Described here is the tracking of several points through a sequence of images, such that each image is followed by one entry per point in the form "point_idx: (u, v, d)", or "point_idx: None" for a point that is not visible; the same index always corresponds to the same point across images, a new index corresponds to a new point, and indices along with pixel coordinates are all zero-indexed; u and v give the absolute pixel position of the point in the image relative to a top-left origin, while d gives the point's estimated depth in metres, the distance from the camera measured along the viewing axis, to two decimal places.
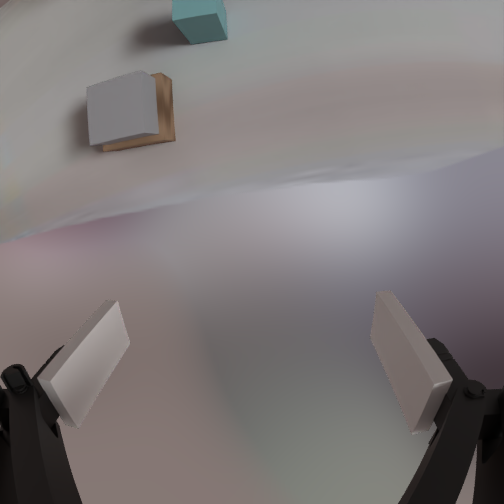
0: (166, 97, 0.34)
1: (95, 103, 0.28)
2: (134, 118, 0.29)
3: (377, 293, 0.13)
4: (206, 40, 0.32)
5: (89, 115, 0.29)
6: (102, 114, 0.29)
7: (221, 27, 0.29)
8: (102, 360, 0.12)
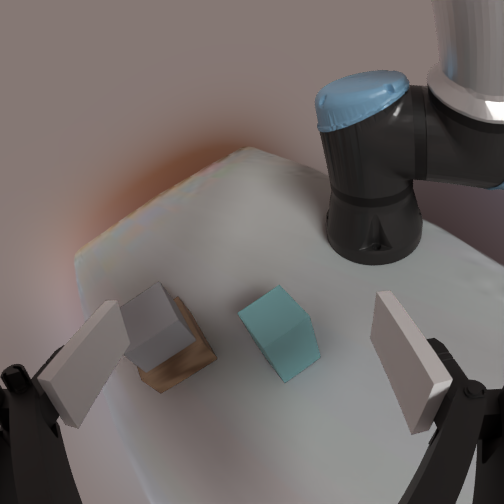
0: (187, 362, 0.34)
1: (145, 297, 0.35)
2: (134, 339, 0.31)
3: (376, 293, 0.13)
4: None
5: (135, 298, 0.35)
6: (136, 309, 0.34)
7: (274, 366, 0.28)
8: (102, 360, 0.12)
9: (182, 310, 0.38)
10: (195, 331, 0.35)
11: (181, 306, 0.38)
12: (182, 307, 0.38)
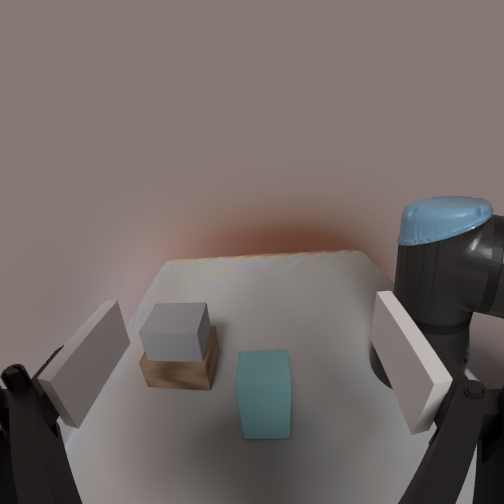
0: (183, 375, 0.36)
1: (187, 307, 0.40)
2: (155, 327, 0.35)
3: (377, 293, 0.13)
4: None
5: (180, 304, 0.41)
6: (174, 310, 0.39)
7: (240, 414, 0.27)
8: (102, 360, 0.12)
9: (210, 337, 0.41)
10: (206, 355, 0.37)
11: (211, 334, 0.41)
12: (211, 335, 0.41)
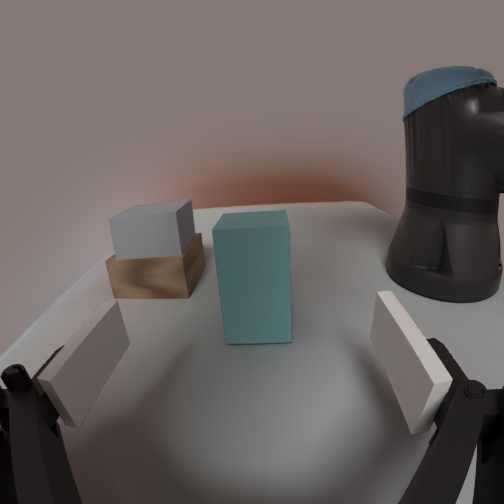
0: (156, 275, 0.30)
1: (168, 202, 0.34)
2: (128, 214, 0.30)
3: (376, 293, 0.13)
4: None
5: (161, 202, 0.35)
6: (153, 205, 0.34)
7: (219, 291, 0.21)
8: (102, 360, 0.12)
9: (193, 239, 0.35)
10: (186, 251, 0.31)
11: (195, 237, 0.36)
12: (195, 238, 0.35)
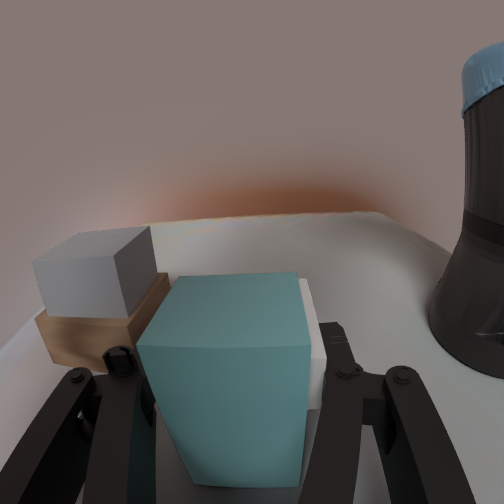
0: (96, 345, 0.19)
1: (117, 232, 0.23)
2: (57, 254, 0.19)
3: None
4: None
5: (109, 230, 0.24)
6: (97, 236, 0.22)
7: None
8: None
9: (153, 285, 0.24)
10: (136, 311, 0.20)
11: (157, 282, 0.24)
12: (157, 283, 0.24)
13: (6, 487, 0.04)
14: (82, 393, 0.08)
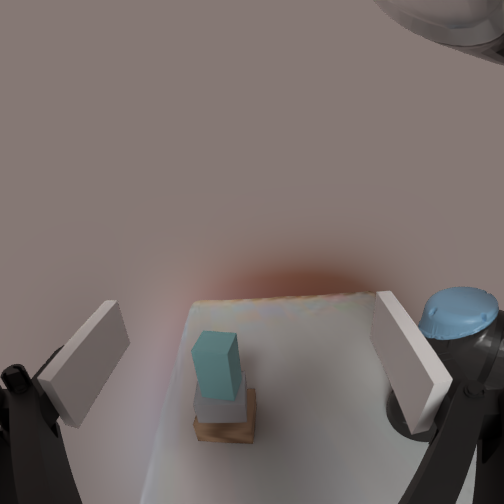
0: (231, 434, 0.40)
1: None
2: (206, 399, 0.40)
3: (377, 293, 0.13)
4: None
5: None
6: None
7: (197, 374, 0.40)
8: (102, 360, 0.12)
9: (251, 400, 0.45)
10: (251, 418, 0.41)
11: (253, 397, 0.46)
12: (253, 398, 0.46)
13: None
14: None
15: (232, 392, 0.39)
